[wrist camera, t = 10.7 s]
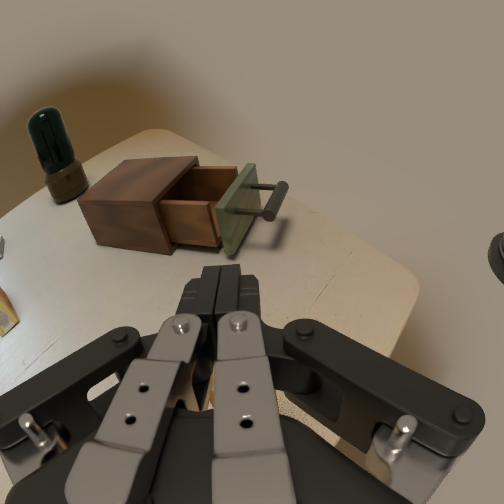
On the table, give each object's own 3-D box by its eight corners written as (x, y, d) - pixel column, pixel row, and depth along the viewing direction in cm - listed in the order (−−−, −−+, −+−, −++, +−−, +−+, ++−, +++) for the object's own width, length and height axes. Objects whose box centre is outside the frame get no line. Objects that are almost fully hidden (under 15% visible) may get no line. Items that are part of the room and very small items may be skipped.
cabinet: (208, 204, 51) (197, 155, 45) (171, 255, 42) (151, 201, 36) (139, 201, 55) (124, 159, 50) (97, 244, 47) (76, 200, 41)
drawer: (294, 206, 45) (291, 164, 41) (273, 259, 37) (267, 211, 33) (182, 200, 51) (172, 163, 47) (145, 244, 43) (129, 203, 39)
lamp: (74, 203, 60) (39, 111, 46) (48, 207, 62) (13, 123, 48) (96, 181, 67) (67, 96, 53) (69, 185, 69) (40, 107, 55)
